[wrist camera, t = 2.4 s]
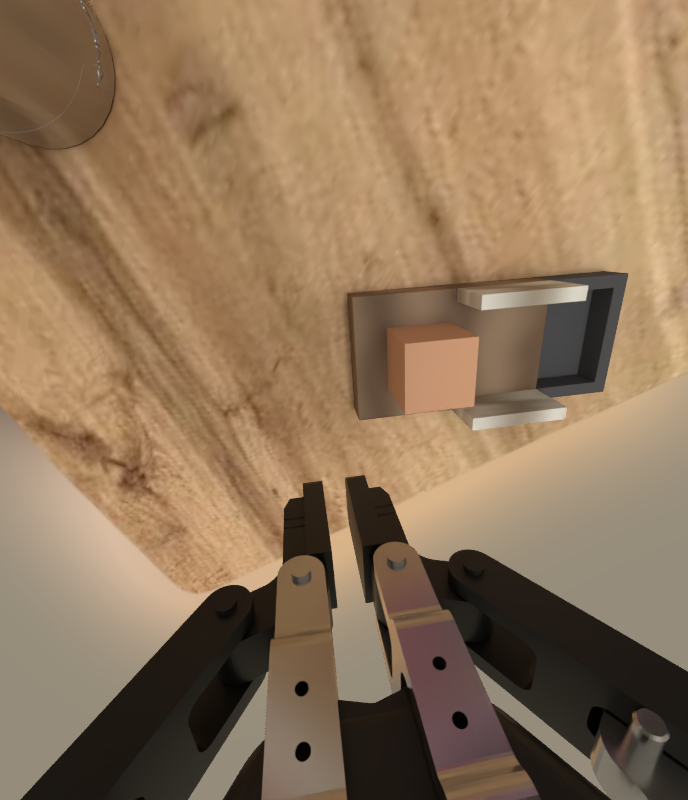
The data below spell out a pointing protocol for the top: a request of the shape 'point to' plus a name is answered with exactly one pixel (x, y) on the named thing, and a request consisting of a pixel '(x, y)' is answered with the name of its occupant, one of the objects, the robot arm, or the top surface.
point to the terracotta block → (432, 367)
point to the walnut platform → (479, 314)
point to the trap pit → (580, 335)
